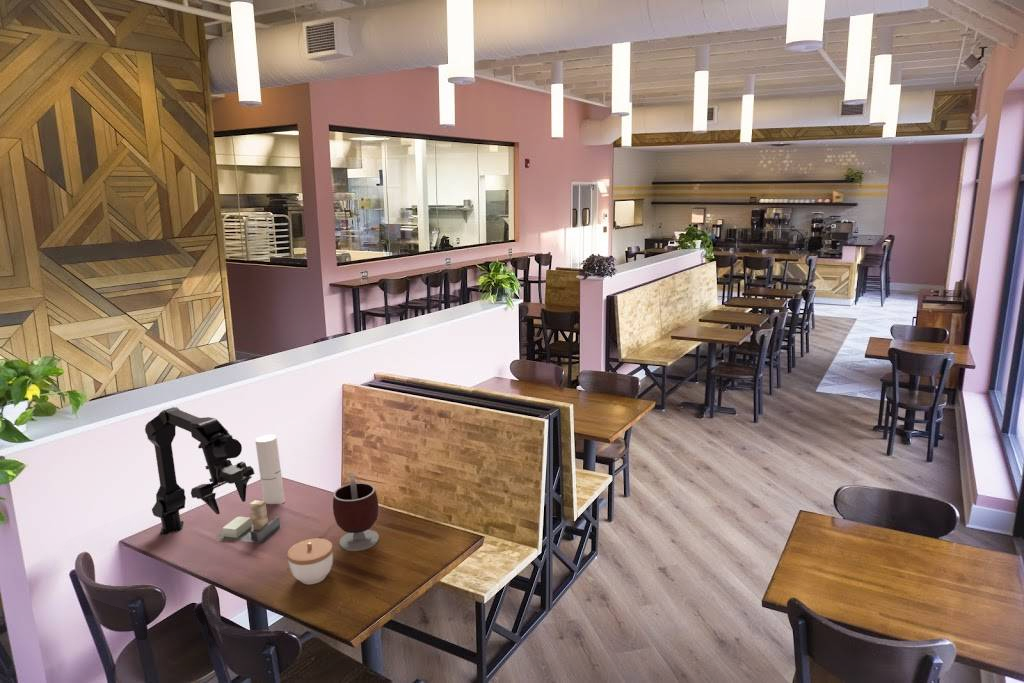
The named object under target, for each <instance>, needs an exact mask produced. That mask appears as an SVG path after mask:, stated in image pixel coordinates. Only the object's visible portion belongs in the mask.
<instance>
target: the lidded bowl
mask: <svg viewBox="0 0 1024 683" xmlns="http://www.w3.org/2000/svg"><path fill="white" fill-rule="evenodd" d="M333 549H334V547H333V543H332V542H331V541H330V540H328V539H326V538H316V537H315V538H309V539H305V540H301V541H299V542H297V543H295V544H294V545H293V544H292V545H291V547H289V548H288V551H287V553H286V556H287V559H288V566H289V569H290V572H291V574H292V575H293V577H294V578H295V579H297V580H298V581H299V582H300V583H302V584H304V585H315V584H318V583H320V582H323V581H324V580H325V578H326V577H327V576H328V574H329V573H330V571H331V570H332V566H333V562H334V551H333Z"/></svg>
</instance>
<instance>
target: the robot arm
mask: <svg viewBox="0 0 1024 683" xmlns="http://www.w3.org/2000/svg"><path fill="white" fill-rule="evenodd" d="M176 427H177V428H180V429H183V430H185V431H188V433H190V434H191V437H192V439H195V440H196V441H198V442H200V443H199V444H198V449H202V454H203V455H204V456H203V457H204V459H205V462H206V465H205V470H208V472H209V474H210V478H208V480H209V483H201V484H199V485H196V486H195V487H192V488H191V491H190V494H191V498H192V499H194V498H196V499H197V500H201V501H203V502H204V503H205V504H206V505H207V506H209V508H210V509H211V510H212V511H213V512H214V513H215V514H216V515H220V514H221V513H220V508H219V505H218V503H217V500H216V494H217V493H216V492H214V490H215V489H217V488H219V487H222V486H224V485H225V484H230V485H232V484H234V485H235V488H236V490H237V494H238V496H239V497H240V500H241V502H242V503H244V502H246V498H247V497H246V496H247V486H248V482H249V481H250V479H252V478H253V475H255V471H254V470H255V469H254V468H253V467H252V466H251V465H247V463H246V462H245V461H240V462H238V463H237V464H234V465H233V463H232V461H231V460H230V459H235V458H239V456H240V455H241V453H242V450H243V447H242V444H241V442H240V441H239V440H238V439H236V438H233V435H231V434H230V433H229V430H227V429H226V428H225V427H224V426H223V425H222V423H221V422H220V421H219V420H218V419H217V418H215V417H209V416H207V417H199V416H196V415H193V414H191V413H188V412H185V411H183V410H180V409H179V407H177V406H176V407H175V406H173V407H169V408H167V409H163V410H162V411H160V412H159V413H158V415H157V416H155V417H153V418H152V419H151V420H150V421H148V422H147V423H146V424H145V429H144V432H145V434H146V436H147V440H148V441H149V442H150V443H151V444H153V445H154V453H155V457H156V458H155V459H156V466H157V471H158V472H157V473H158V479H159V480H158V481H159V488H158V489H157V492H156V494H155V499H156V500H155V503H154V505H153V507H152V508H151V511H152V514H153V516H154V517H157V518H160V521H161V529H160V532H159V533H160V535H165V534H169V533H175V532H180V531H182V530H183V526H184V524H185V523H184V520H181V516H180V510H182V509H185V507H186V499H187V497H186V492H185V489H184V488H182V487H181V486H180V485H179V483H177V482H178V481H177V477H176V468H175V462H174V460H175V459H174V452H173V446H172V444H173V442H174V439H175V436H176Z"/></svg>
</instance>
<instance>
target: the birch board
mask: <svg viewBox="0 0 1024 683" xmlns="http://www.w3.org/2000/svg"><path fill="white" fill-rule="evenodd" d="M266 505H267V504H266V503H265V501H264V500H258V499H257V500H256V499H254V500H252V501H251V502H250V503H249V508H250V516H251V522H252V523H253V530H260V529H262V528H263V527H264V526H265V525H266V524H268V523H269V519H268V511H267V506H266Z"/></svg>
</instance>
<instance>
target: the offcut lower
mask: <svg viewBox="0 0 1024 683" xmlns="http://www.w3.org/2000/svg"><path fill="white" fill-rule="evenodd" d="M251 526H252V521H251V522H250V523H249V524H248V525H247V526H245V527H244V528H243V529H242V530H240V531H239V532H238V533H236V534H235V533H225V532H223V531H222V532H223V536H224V537H234V538H237V537H239V536H240V535H241V534H242V533H244V532H245V531H246V530H247V529H249V528H250V527H251Z"/></svg>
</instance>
